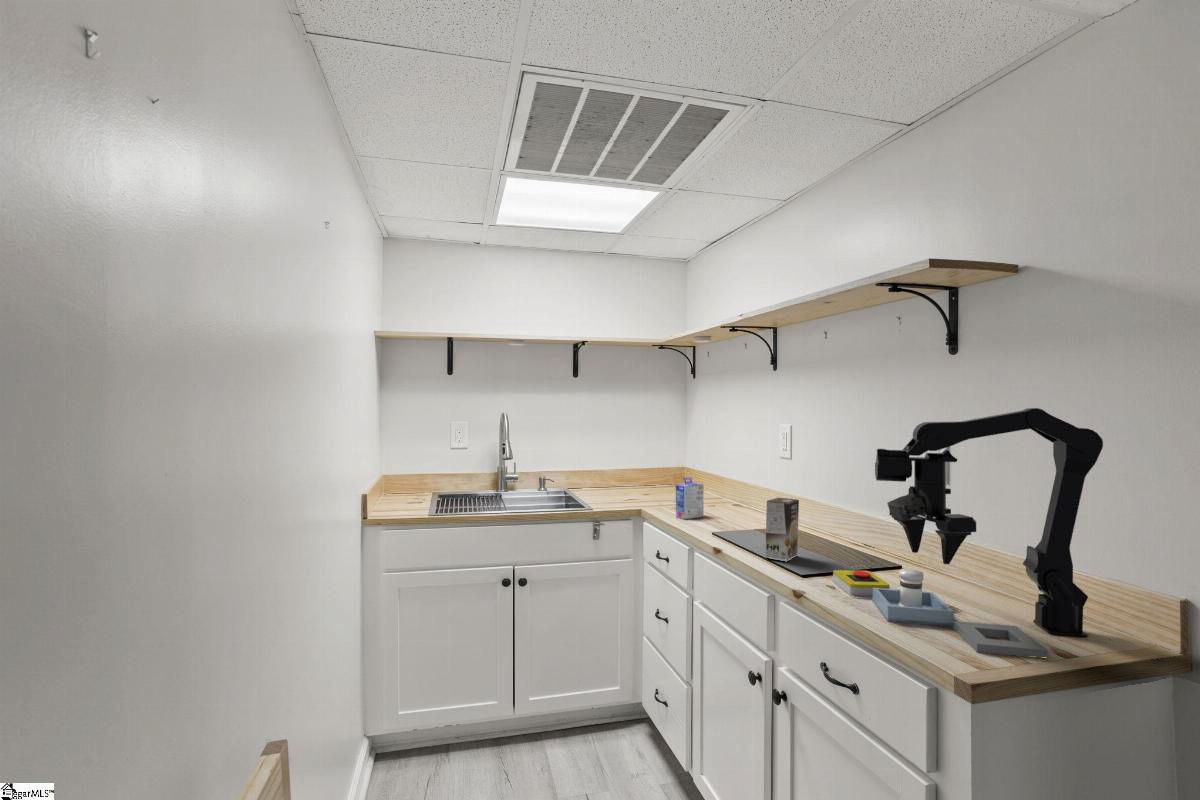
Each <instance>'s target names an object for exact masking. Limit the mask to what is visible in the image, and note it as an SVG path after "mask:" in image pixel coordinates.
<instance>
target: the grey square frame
mask: <svg viewBox="0 0 1200 800" xmlns="http://www.w3.org/2000/svg"><path fill="white" fill-rule="evenodd" d="M952 630H954V632H955V633H957V634H958V635H959V636H960V637H961V638H962V639H963V640H964V641H965V642H966V643H967V644H968V645H969V646H970V647H971V648H972V649H973V650H974V651H975V652H976V653H978V654H980V653H982V654H990V655H1002V656H1011V655H1019V656H1018V657H1022V656H1036V657H1047V658H1049V657H1048V654H1049V650H1048V649H1047V648H1045V647H1044V646H1043V645H1042V644H1041V643H1039V642H1038V641H1037V640H1035V639H1034V638H1032V637H1031V635H1029V634H1027V633H1026V632H1025V631H1024V630H1022V629H1021V628H1019V627H1018V626H1016V625H1008V624H1007V625H1005V624H994V623H982V622H980V623H979V622H971V621H970V622H969V621H967V622H966V621H958V620H954V621H953V627H952ZM986 637H987V638H986ZM997 637H999V639H989V638H997ZM1007 638H1008V639H1007ZM1000 639H1007V640H1000Z"/></svg>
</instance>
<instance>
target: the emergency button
mask: <svg viewBox="0 0 1200 800" xmlns="http://www.w3.org/2000/svg"><path fill="white" fill-rule="evenodd" d="M832 575H833V576H832V577H829V580H830V581H831V582H833V584H834V585H836V586H837V587H838V588H839V589H840V590H842V591H843V592H844V593H845V594H847V595H848V596H849V597H850V598H852V599H857V600H873V588H884V589H891V588H890V583H888V582H887V581H885V580H883V579H882V578H880V577H879V576H878V575H876V574H874V572H872V571H869V570H848V569H845V570H843V569H842V570H840V569H839V570H838V569H836V570H835V569H834V570H833V572H832Z"/></svg>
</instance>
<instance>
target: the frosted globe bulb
mask: <svg viewBox="0 0 1200 800" xmlns="http://www.w3.org/2000/svg"><path fill="white" fill-rule="evenodd" d="M898 571H899V578H900V579H899V590H900V602H899V606H906V607H919V608H923V606H922V591H923V581H924V573H923V572H922V571H921V570H915V569H911V568H910V569H909V568H901V569H899V570H898Z"/></svg>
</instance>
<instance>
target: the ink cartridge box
mask: <svg viewBox="0 0 1200 800" xmlns="http://www.w3.org/2000/svg"><path fill="white" fill-rule="evenodd" d="M683 481H684V483H683V484H681V483H680V484H676V485H675V517H676V518H678V519H681V520H690V519H698V518H704V507H705V506H704V501H705V499H704V498H705V497H704V493H705V492H704V491H705V489H704V487H705V486H704V484H703V483H698V482H693V480H692V478H691V477H683Z"/></svg>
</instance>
